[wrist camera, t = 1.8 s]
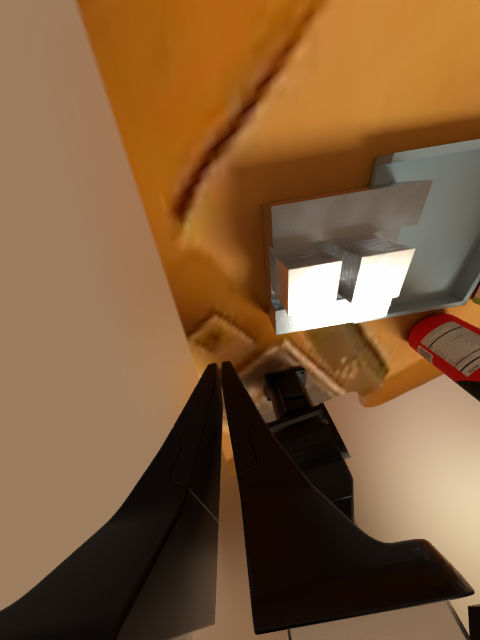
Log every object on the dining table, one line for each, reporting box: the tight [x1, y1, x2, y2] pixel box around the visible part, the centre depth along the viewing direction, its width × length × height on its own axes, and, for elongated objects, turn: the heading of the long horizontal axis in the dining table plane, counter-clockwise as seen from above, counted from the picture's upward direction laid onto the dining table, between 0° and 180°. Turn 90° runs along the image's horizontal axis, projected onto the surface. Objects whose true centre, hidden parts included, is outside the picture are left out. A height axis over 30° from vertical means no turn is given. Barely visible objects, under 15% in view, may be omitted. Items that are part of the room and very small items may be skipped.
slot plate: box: [261, 179, 433, 335], centre depth 19 cm, size 12×12×4 cm
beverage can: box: [408, 314, 480, 401], centre depth 23 cm, size 6×6×12 cm
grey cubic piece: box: [275, 248, 342, 315], centre depth 17 cm, size 4×4×4 cm
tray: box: [352, 139, 480, 324], centre depth 20 cm, size 16×14×2 cm
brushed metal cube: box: [333, 238, 416, 304], centre depth 17 cm, size 4×4×4 cm
